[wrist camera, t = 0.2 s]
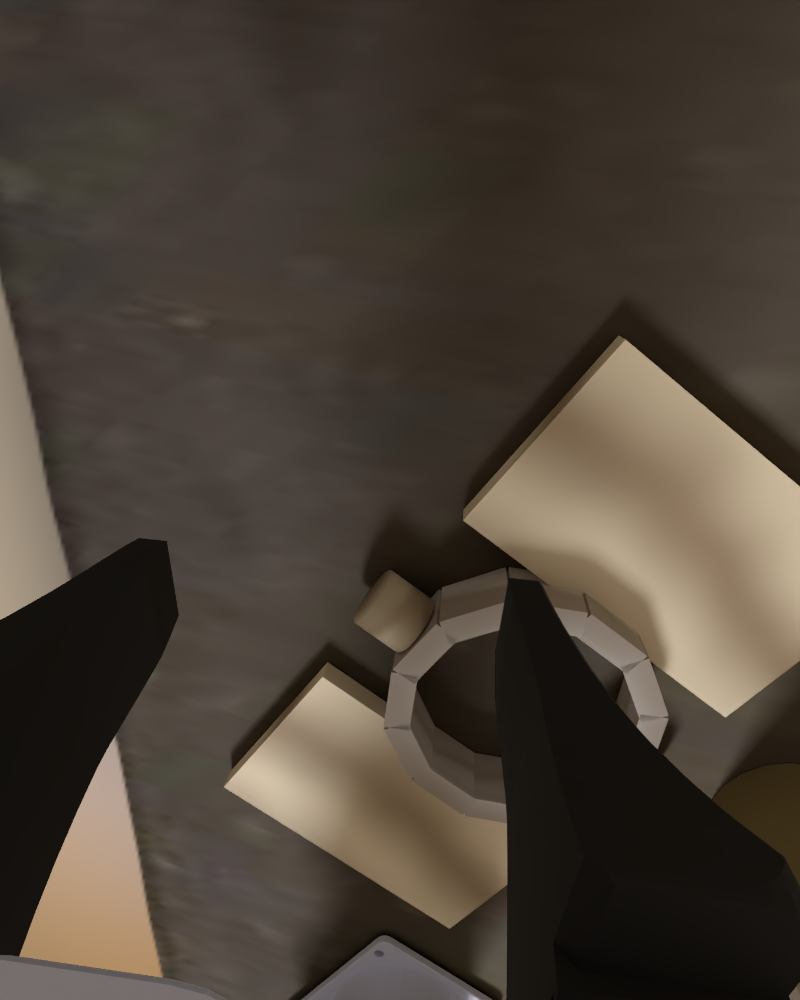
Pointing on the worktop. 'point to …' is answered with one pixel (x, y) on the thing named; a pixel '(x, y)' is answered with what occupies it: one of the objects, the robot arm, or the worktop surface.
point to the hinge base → (580, 606)
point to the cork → (768, 808)
